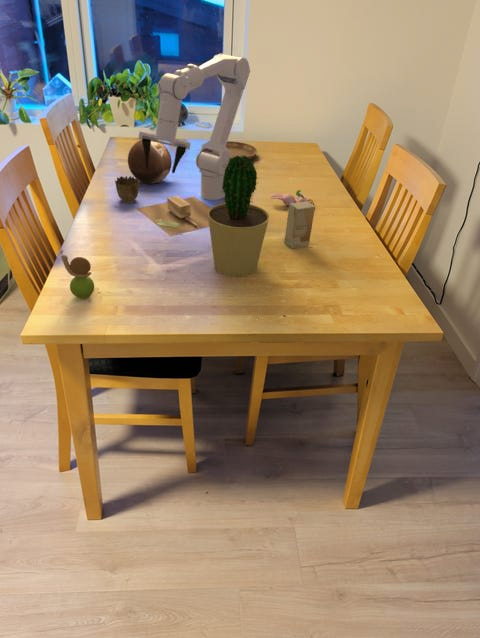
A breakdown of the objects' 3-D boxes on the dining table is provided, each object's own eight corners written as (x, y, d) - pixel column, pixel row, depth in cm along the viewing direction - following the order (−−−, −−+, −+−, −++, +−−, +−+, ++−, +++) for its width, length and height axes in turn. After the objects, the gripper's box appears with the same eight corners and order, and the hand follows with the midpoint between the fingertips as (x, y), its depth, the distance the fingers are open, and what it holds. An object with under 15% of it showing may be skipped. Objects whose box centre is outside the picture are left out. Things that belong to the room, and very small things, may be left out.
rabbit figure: (309, 206, 178) (267, 198, 175) (314, 189, 175) (272, 181, 171) (313, 213, 173) (270, 206, 170) (319, 196, 169) (275, 188, 166)
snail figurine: (69, 290, 123) (62, 245, 116) (97, 290, 124) (91, 245, 117) (65, 302, 119) (57, 256, 112) (93, 302, 120) (87, 256, 113)
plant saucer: (256, 166, 205) (257, 158, 203) (204, 163, 204) (205, 155, 202) (256, 150, 222) (256, 142, 220) (208, 147, 221) (208, 140, 219)
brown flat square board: (194, 200, 173) (194, 196, 172) (231, 224, 158) (231, 220, 158) (136, 211, 162) (136, 208, 162) (170, 239, 148) (170, 235, 147)
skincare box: (291, 249, 147) (296, 209, 140) (283, 243, 150) (288, 203, 143) (310, 245, 150) (316, 206, 143) (301, 239, 153) (307, 200, 146)
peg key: (178, 208, 164) (178, 195, 161) (202, 225, 154) (203, 212, 152) (166, 210, 161) (166, 198, 159) (190, 228, 152) (190, 215, 149)
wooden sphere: (160, 193, 176) (159, 148, 168) (121, 185, 180) (117, 142, 171) (178, 179, 188) (178, 137, 179) (141, 172, 191) (139, 131, 183)
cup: (135, 209, 164) (133, 185, 159) (113, 206, 165) (111, 182, 160) (143, 201, 170) (142, 177, 165) (122, 198, 171) (120, 174, 166)
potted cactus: (245, 287, 129) (253, 169, 112) (195, 268, 135) (195, 154, 118) (274, 263, 140) (286, 152, 123) (227, 247, 146) (232, 139, 129)
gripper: (141, 115, 139) (134, 166, 144) (194, 127, 143) (185, 177, 148) (142, 114, 146) (135, 163, 151) (192, 126, 149) (184, 173, 154)
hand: (160, 169), depth 150 cm, fingers open, 7 cm apart
